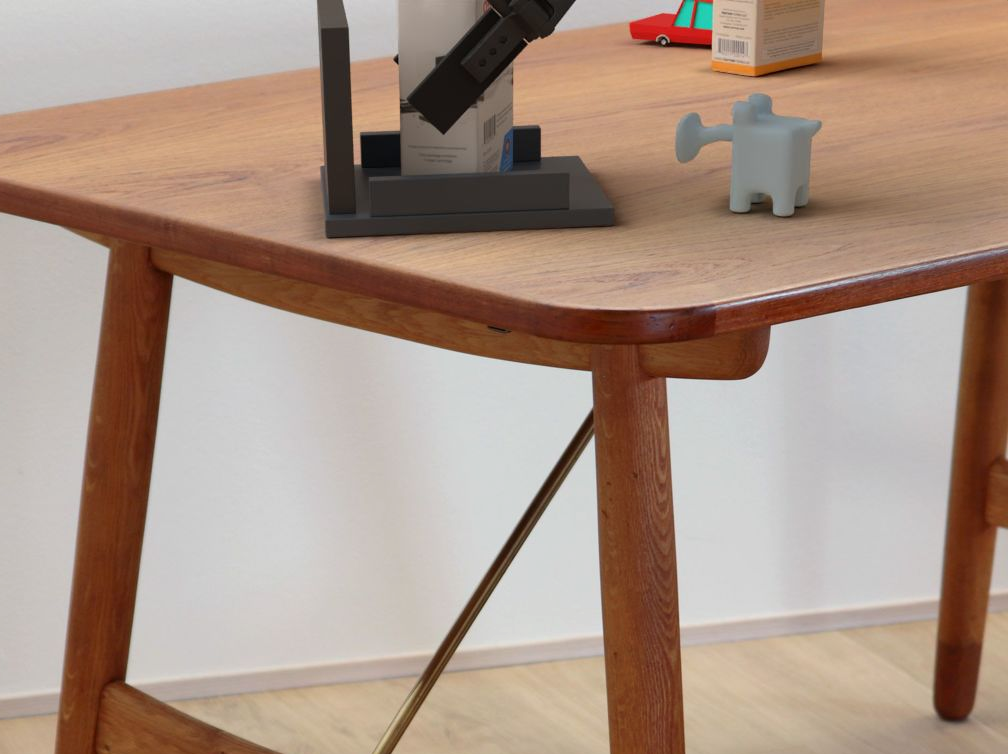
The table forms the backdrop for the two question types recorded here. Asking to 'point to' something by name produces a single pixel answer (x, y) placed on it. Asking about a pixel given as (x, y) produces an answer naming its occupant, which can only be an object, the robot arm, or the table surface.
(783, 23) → the supplement box
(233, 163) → the table surface
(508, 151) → the ink box
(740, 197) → the figurine
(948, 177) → the table surface
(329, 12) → the cradle
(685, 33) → the toy car
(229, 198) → the table surface
